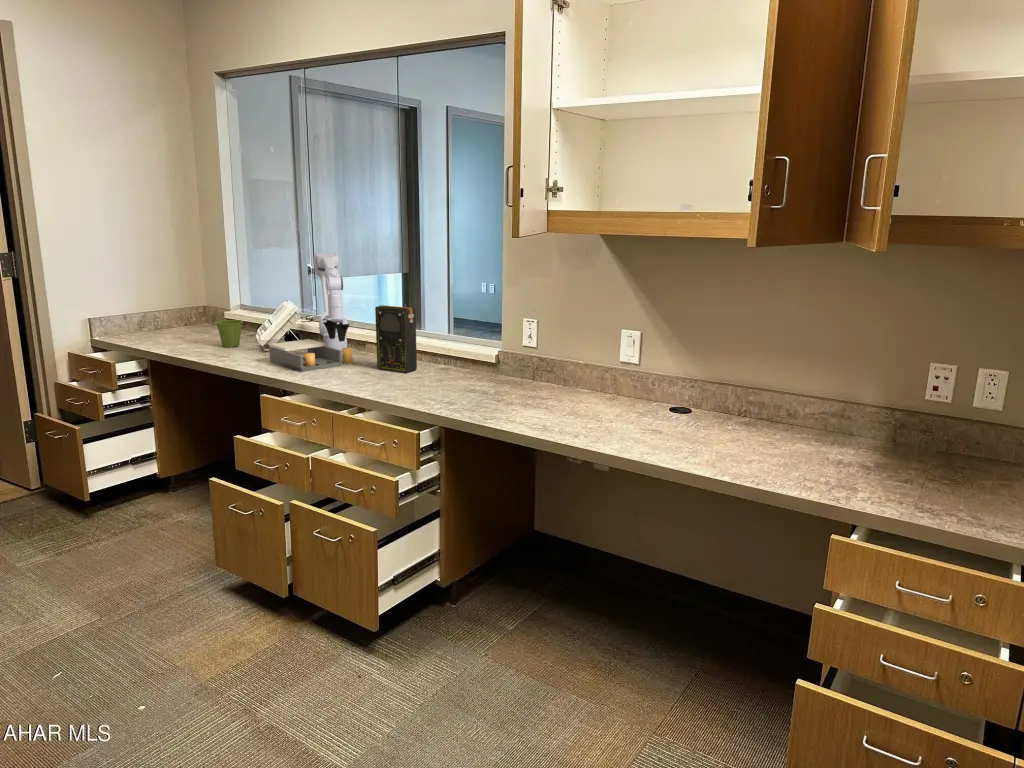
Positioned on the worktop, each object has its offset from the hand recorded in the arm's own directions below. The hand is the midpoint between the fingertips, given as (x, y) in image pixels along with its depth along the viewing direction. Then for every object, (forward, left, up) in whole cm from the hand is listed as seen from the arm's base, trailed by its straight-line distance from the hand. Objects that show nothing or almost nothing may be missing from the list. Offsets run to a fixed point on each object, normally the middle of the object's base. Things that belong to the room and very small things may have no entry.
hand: (337, 340), depth 296 cm
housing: (+11, -7, -10) cm, 16 cm away
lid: (+11, -13, -4) cm, 17 cm away
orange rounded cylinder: (+14, +3, -10) cm, 17 cm away
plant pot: (+17, -65, -10) cm, 68 cm away
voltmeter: (-10, +27, -10) cm, 31 cm away
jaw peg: (-3, +2, -10) cm, 10 cm away
